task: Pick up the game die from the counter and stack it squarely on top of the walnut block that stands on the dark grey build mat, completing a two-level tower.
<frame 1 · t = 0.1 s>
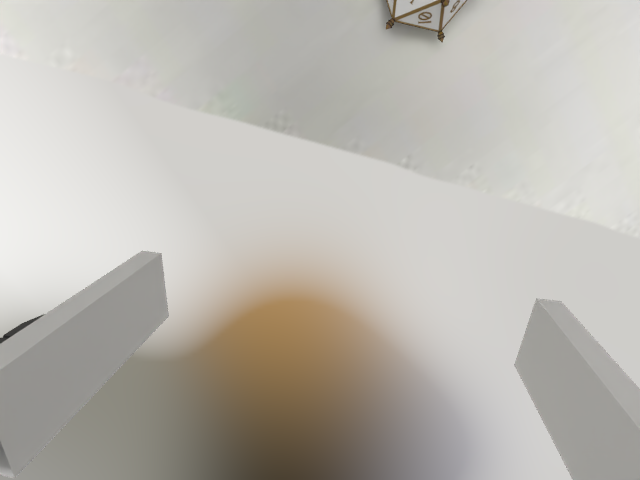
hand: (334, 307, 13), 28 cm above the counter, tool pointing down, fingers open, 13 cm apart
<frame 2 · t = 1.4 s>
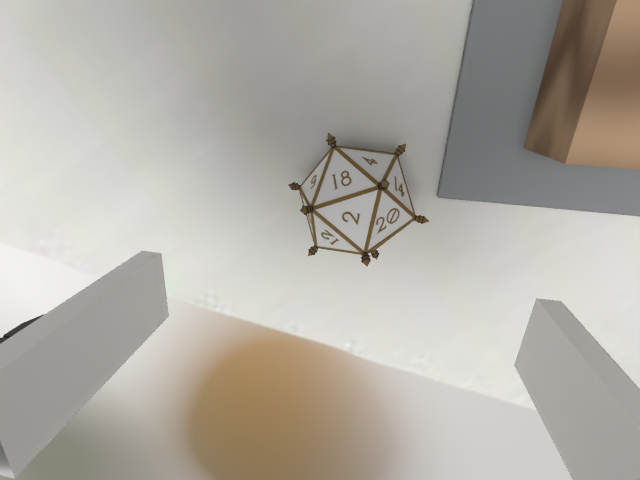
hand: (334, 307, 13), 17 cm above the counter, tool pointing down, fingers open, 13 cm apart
build mat: (607, 71, 23), on the counter
game die: (358, 187, 28), on the counter
walnut block: (630, 72, 22), point 1 cm above the counter, touching build mat
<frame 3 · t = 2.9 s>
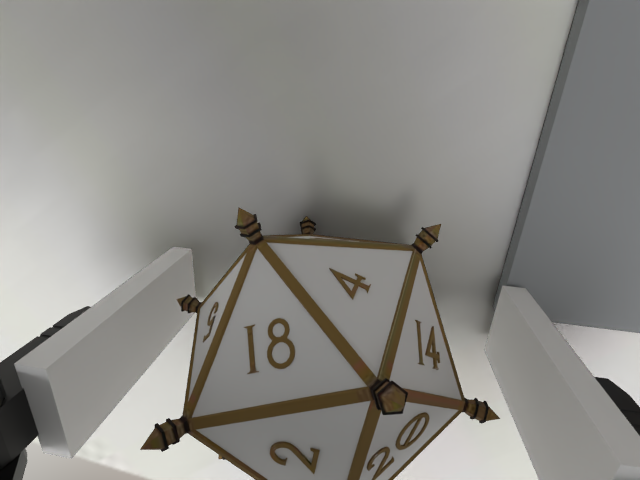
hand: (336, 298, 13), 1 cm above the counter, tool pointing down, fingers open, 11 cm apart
game die: (334, 283, 14), on the counter
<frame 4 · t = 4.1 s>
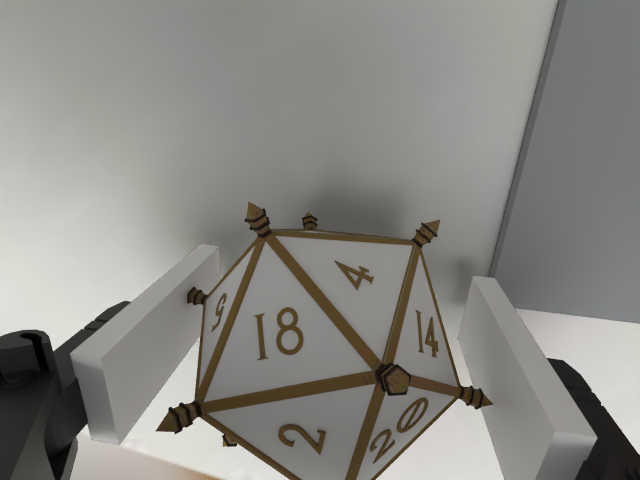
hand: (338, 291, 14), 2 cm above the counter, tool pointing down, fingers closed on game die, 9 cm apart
game die: (334, 278, 15), point 1 cm above the counter, touching gripper
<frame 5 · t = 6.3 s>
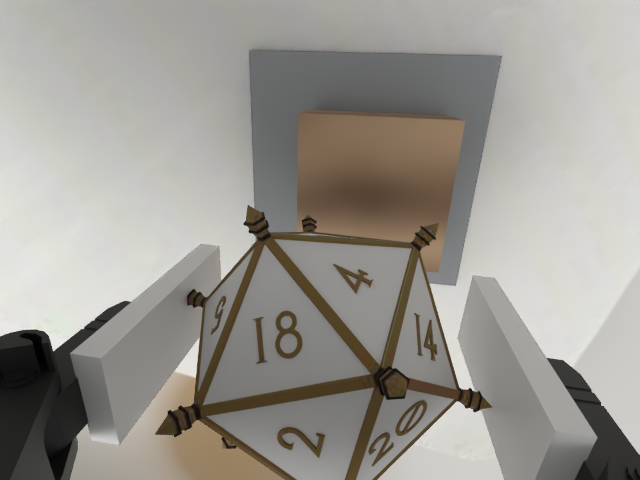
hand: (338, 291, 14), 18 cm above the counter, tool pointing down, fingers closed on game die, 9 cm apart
build mat: (360, 175, 30), on the counter
game die: (333, 280, 15), point 17 cm above the counter, touching gripper
walnut block: (372, 177, 29), point 1 cm above the counter, touching build mat
when the fingers open (8 cm above the counter, at t = 8.7 s): game die stays where it is, resting on walnut block.
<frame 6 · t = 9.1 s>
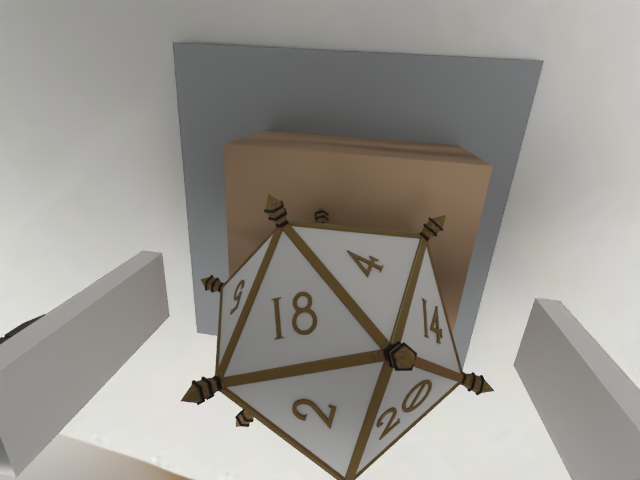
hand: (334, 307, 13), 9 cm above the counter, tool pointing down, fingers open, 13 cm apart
build mat: (334, 222, 21), on the counter
game die: (343, 271, 15), point 6 cm above the counter, touching walnut block
walnut block: (351, 227, 21), point 1 cm above the counter, touching build mat, game die
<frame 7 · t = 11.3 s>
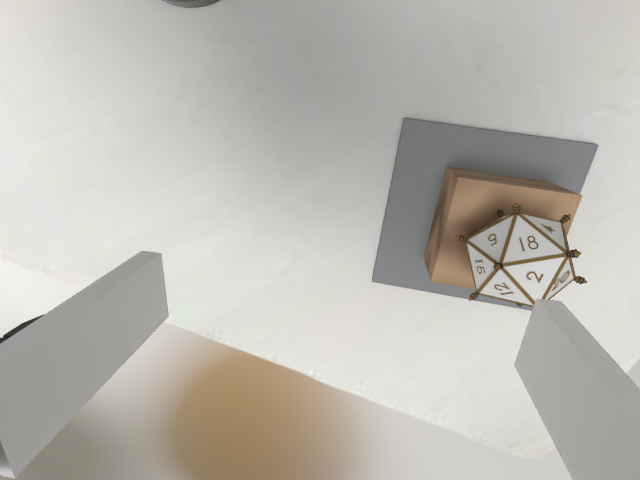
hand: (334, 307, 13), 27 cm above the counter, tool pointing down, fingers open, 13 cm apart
build mat: (471, 219, 38), on the counter
game die: (501, 240, 32), point 6 cm above the counter, touching walnut block
walnut block: (483, 222, 38), point 1 cm above the counter, touching build mat, game die
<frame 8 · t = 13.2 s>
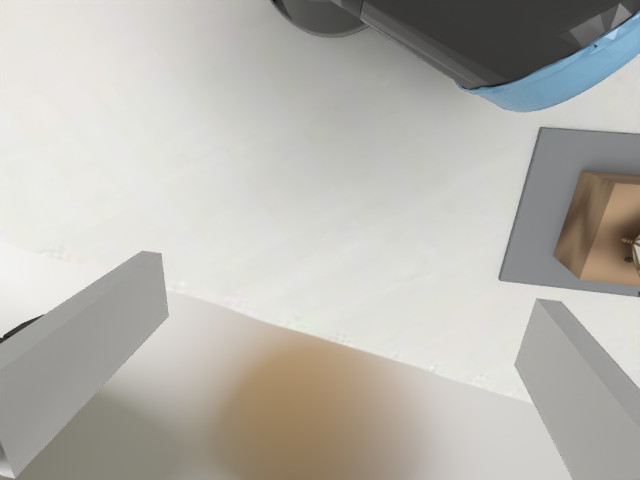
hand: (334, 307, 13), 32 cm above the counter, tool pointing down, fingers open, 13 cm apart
build mat: (601, 217, 40), on the counter
walnut block: (614, 219, 40), point 1 cm above the counter, touching build mat, game die
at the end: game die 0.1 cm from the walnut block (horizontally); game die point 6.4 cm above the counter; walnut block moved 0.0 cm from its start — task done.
